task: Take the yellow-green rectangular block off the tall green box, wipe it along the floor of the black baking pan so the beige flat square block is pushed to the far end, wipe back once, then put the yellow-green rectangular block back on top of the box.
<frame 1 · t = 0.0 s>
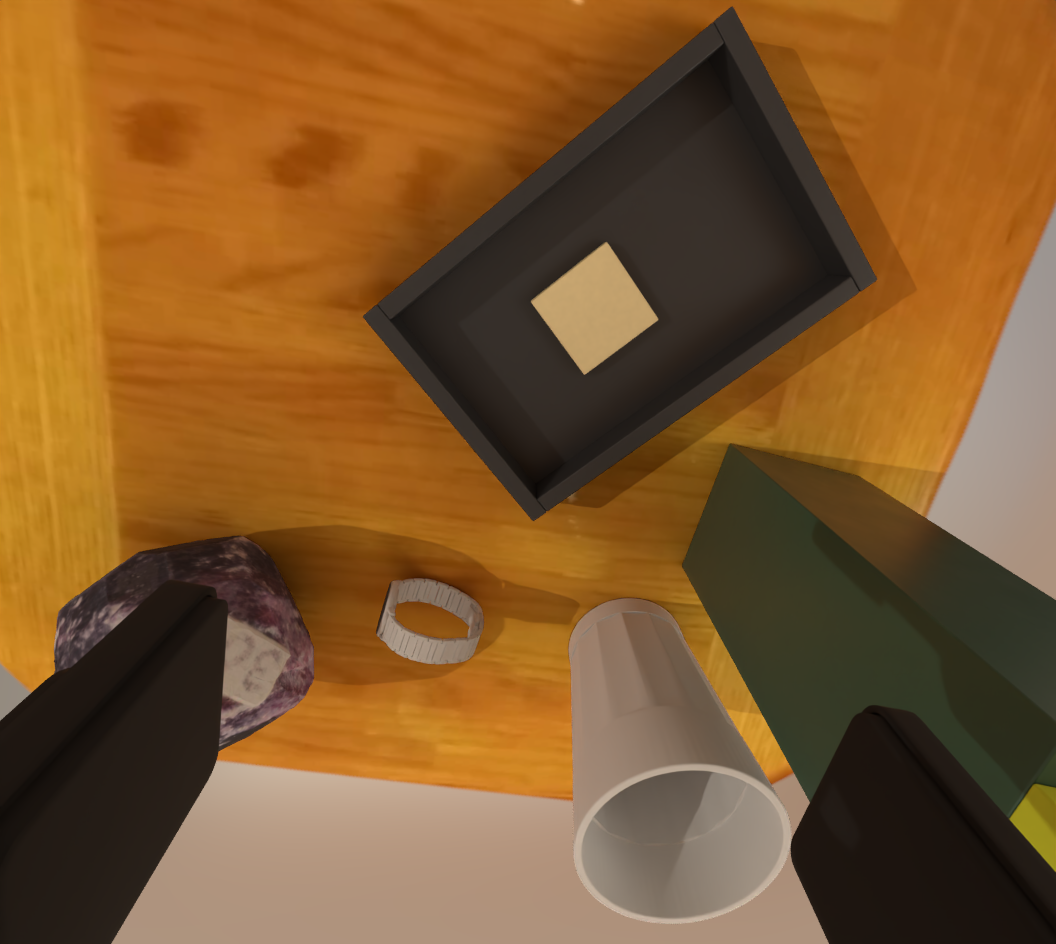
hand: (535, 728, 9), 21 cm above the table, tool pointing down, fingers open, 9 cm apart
cup: (624, 645, 33), on the table
pan: (610, 294, 27), on the table
wristwatch: (437, 591, 32), on the table
mineral specimen: (237, 595, 32), on the table
beige flat square block: (593, 309, 26), point 1 cm above the table, touching pan
tall green box: (768, 522, 31), on the table
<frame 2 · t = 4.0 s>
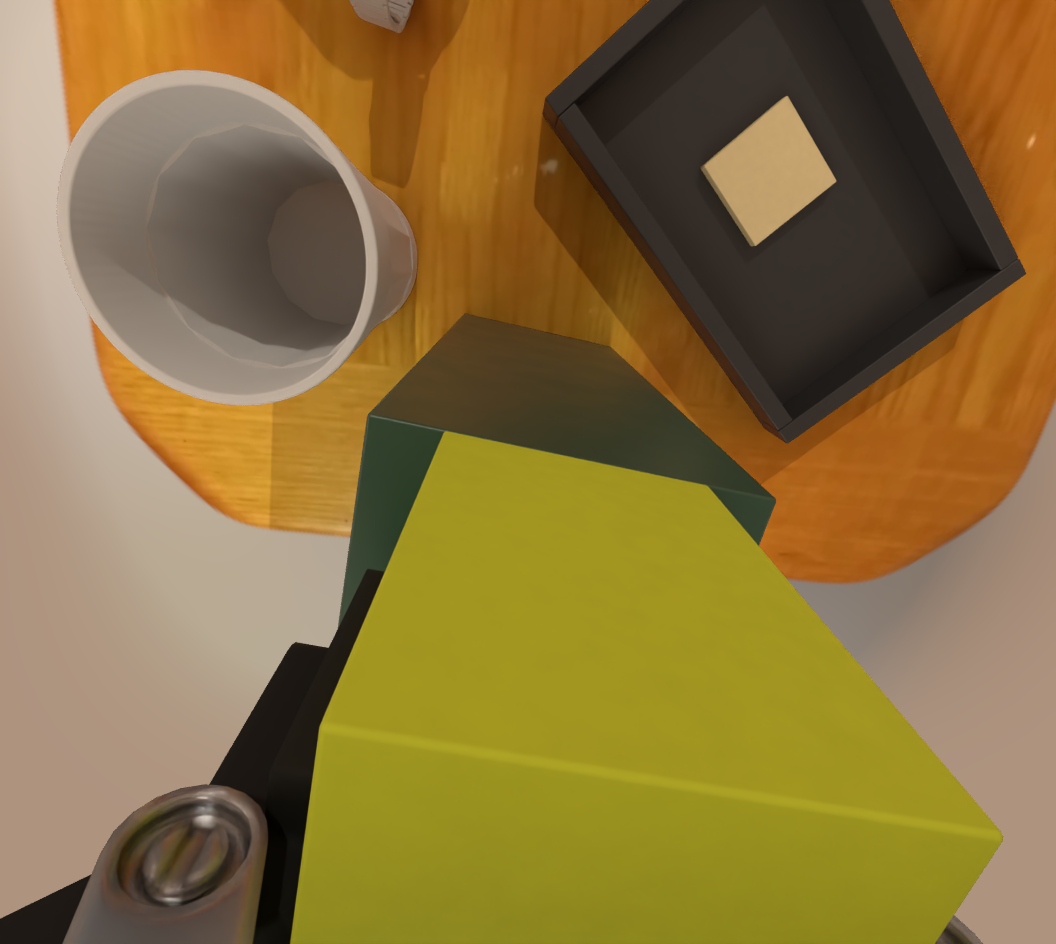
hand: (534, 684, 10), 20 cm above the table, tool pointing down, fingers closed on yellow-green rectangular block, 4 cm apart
cup: (347, 255, 27), on the table
pan: (772, 197, 26), on the table
yellow-green rectangular block: (532, 634, 11), point 19 cm above the table, touching gripper, tall green box
beige flat square block: (765, 175, 25), point 1 cm above the table, touching pan
tall green box: (522, 402, 29), on the table
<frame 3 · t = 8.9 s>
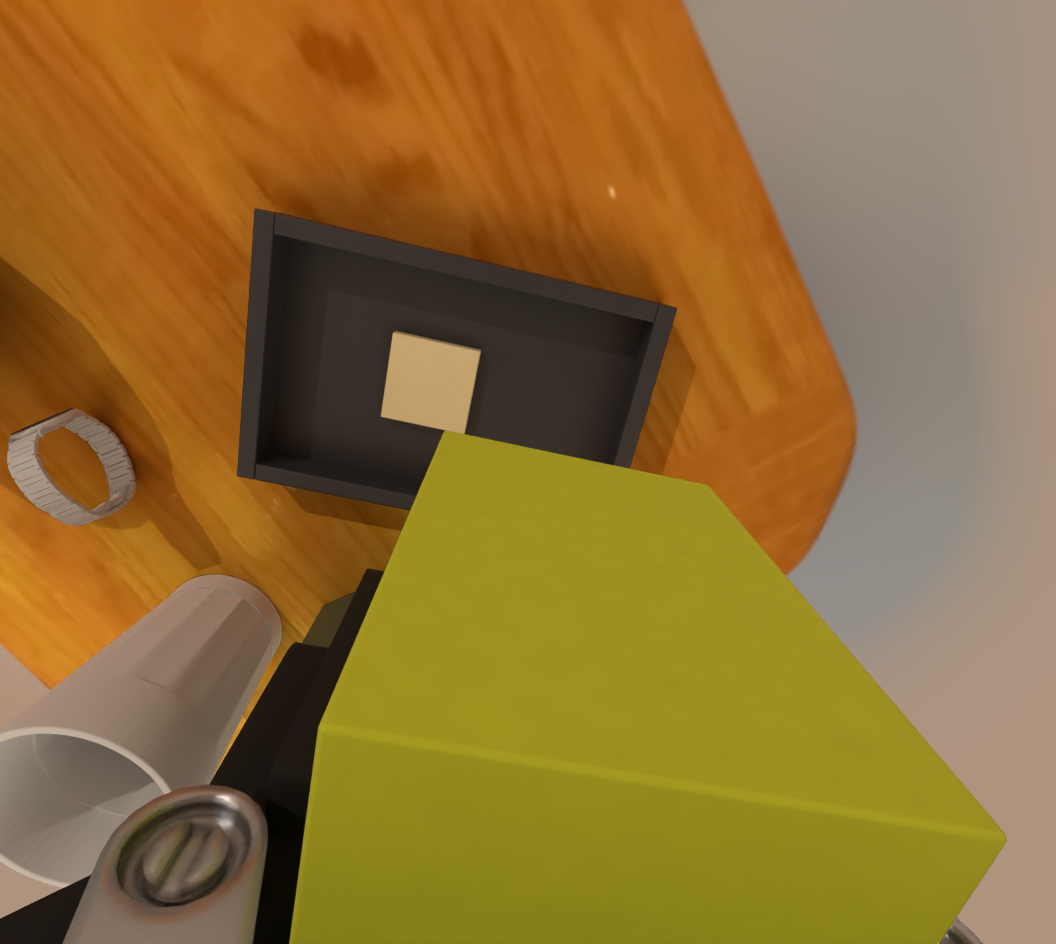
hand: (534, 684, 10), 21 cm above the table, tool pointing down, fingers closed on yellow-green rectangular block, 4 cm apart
cup: (226, 622, 33), on the table
pan: (453, 384, 29), on the table
wristwatch: (113, 450, 30), on the table
yellow-green rectangular block: (532, 634, 11), point 19 cm above the table, touching gripper
beige flat square block: (431, 382, 28), point 1 cm above the table, touching pan
tall green box: (410, 630, 33), on the table
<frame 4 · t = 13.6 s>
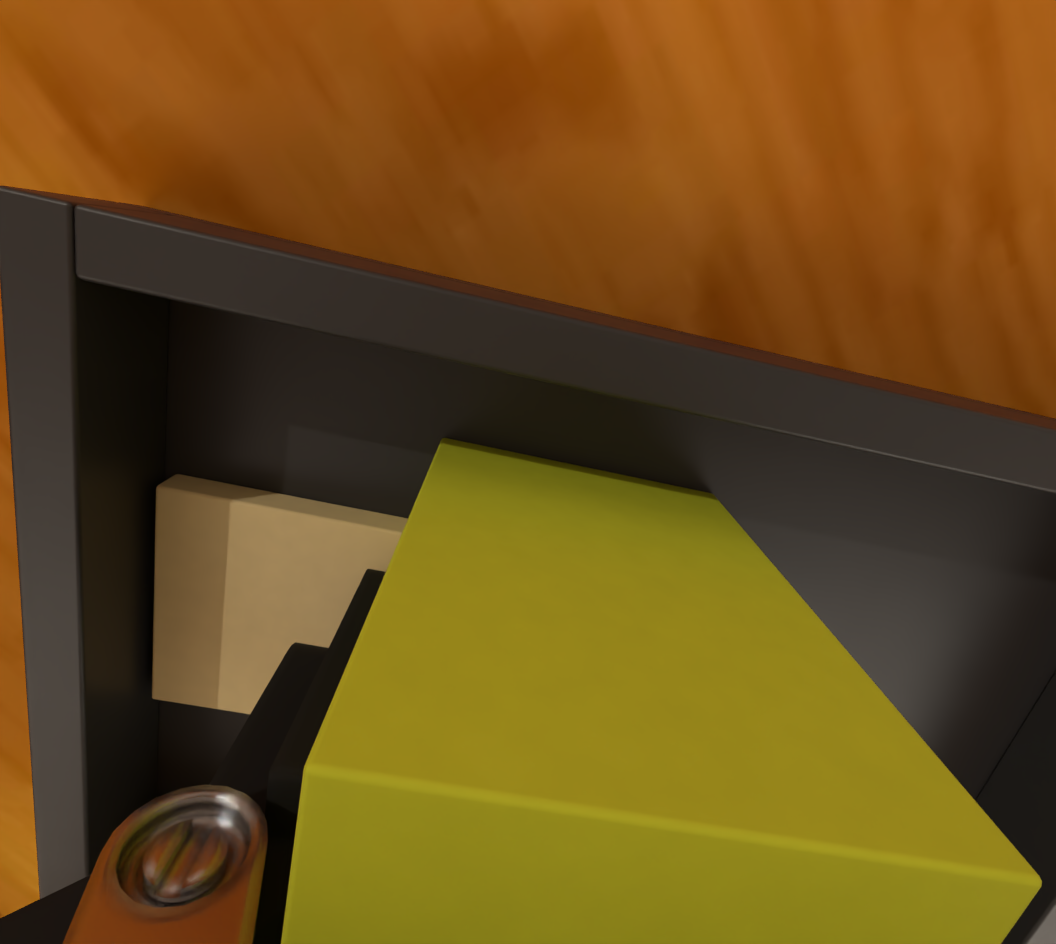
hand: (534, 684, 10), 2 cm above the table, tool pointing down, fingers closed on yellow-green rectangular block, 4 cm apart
pan: (613, 640, 11), on the table
yellow-green rectangular block: (532, 646, 11), point 1 cm above the table, touching beige flat square block, gripper, pan
beige flat square block: (292, 602, 10), point 1 cm above the table, touching pan, yellow-green rectangular block
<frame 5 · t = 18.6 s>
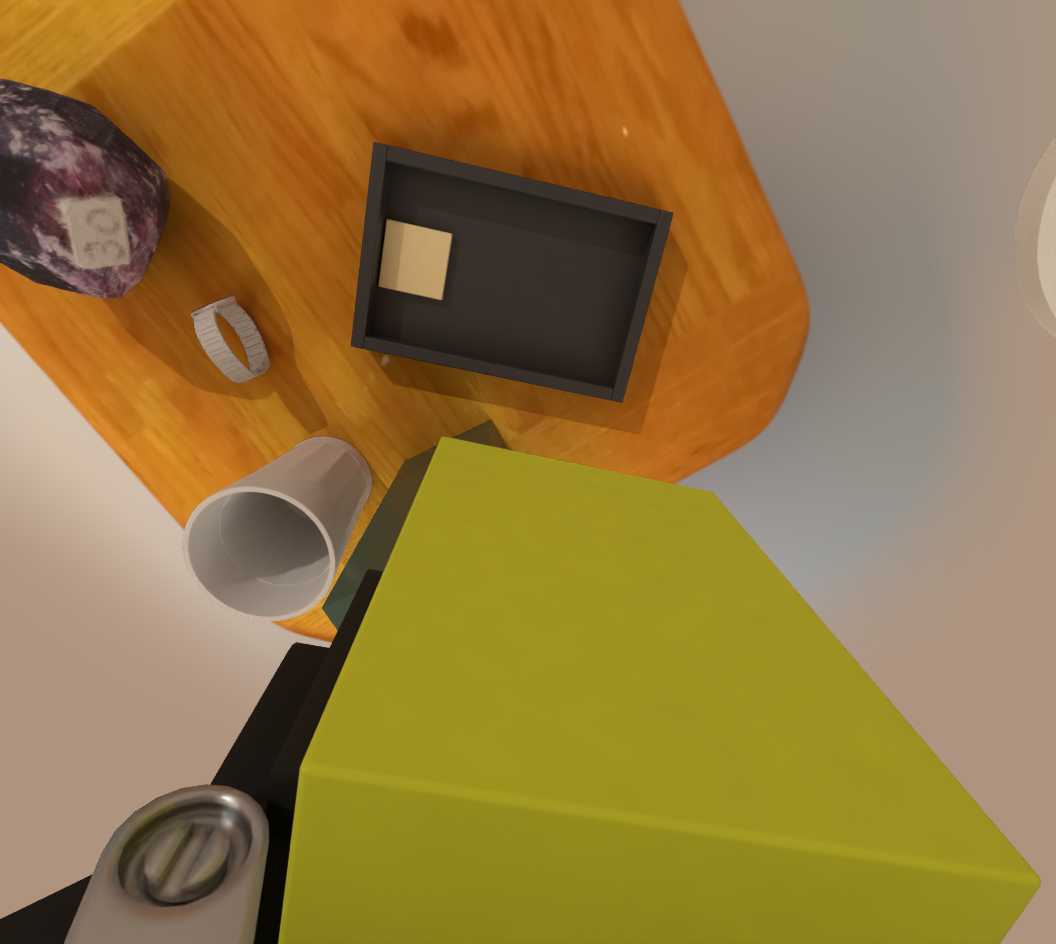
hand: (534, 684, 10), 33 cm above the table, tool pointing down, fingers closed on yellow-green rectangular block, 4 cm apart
cup: (328, 477, 43), on the table
pan: (507, 280, 39), on the table
wristwatch: (250, 336, 40), on the table
mineral specimen: (116, 204, 37), on the table
yellow-green rectangular block: (532, 645, 11), point 31 cm above the table, touching gripper
beige flat square block: (416, 260, 37), point 1 cm above the table, touching pan
tall green box: (470, 482, 43), on the table
when the fingers open (20 cm above the table, at t = 22.7 s): yellow-green rectangular block stays where it is, resting on tall green box.
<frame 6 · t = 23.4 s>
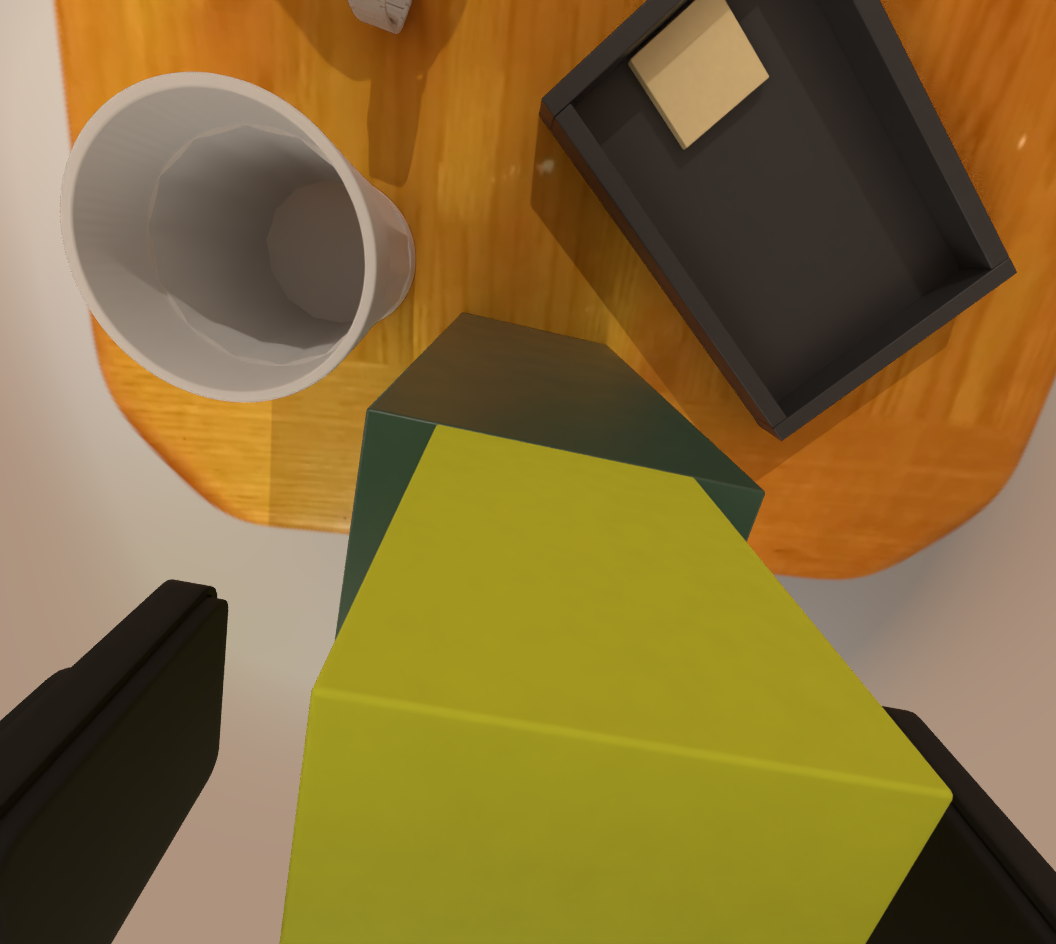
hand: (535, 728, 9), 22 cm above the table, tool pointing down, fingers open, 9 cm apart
cup: (345, 254, 27), on the table
pan: (766, 196, 26), on the table
yellow-green rectangular block: (523, 624, 11), point 19 cm above the table, touching tall green box
beige flat square block: (696, 72, 24), point 1 cm above the table, touching pan
tall green box: (519, 400, 29), on the table
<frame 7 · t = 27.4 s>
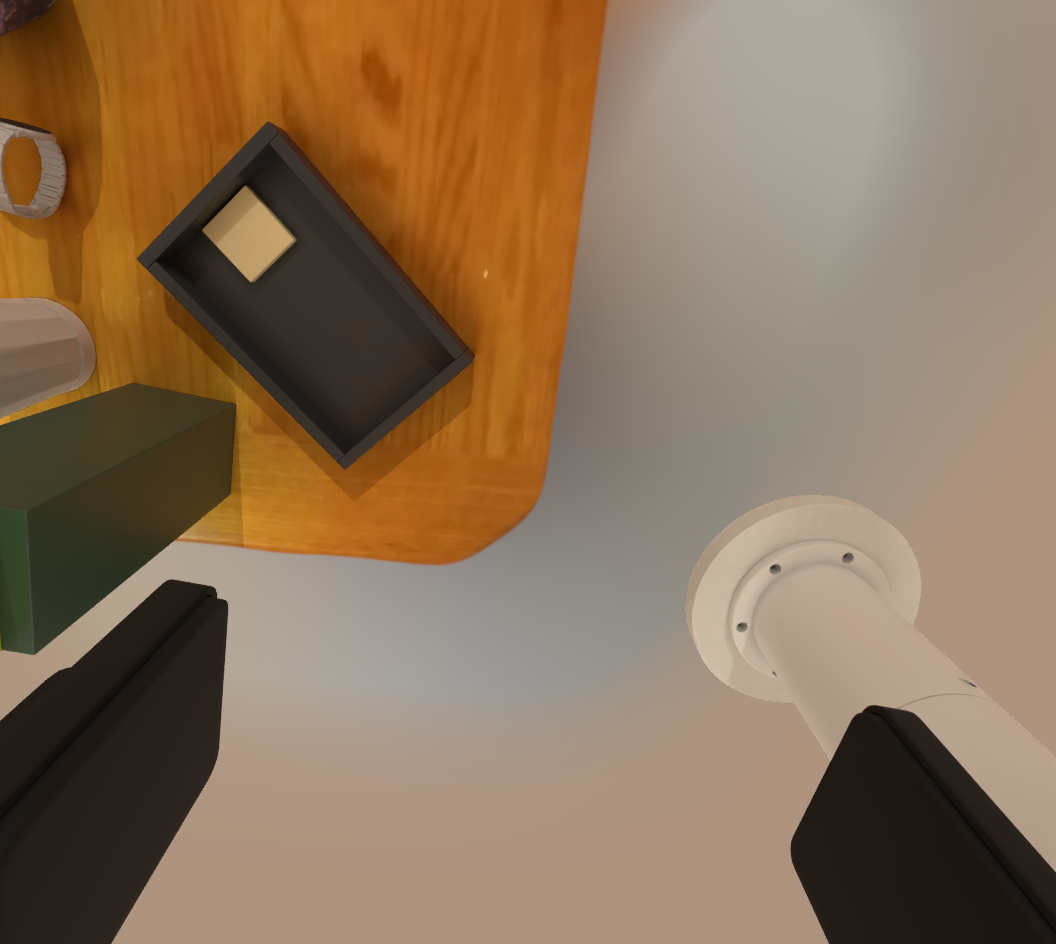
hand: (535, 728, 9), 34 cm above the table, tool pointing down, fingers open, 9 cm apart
cup: (49, 345, 40), on the table
pan: (322, 308, 40), on the table
wristwatch: (56, 176, 37), on the table
beige flat square block: (251, 235, 38), point 1 cm above the table, touching pan
tall green box: (183, 440, 43), on the table
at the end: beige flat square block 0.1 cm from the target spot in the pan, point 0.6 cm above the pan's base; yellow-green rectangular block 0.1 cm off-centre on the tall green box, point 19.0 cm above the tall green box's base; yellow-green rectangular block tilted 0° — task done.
